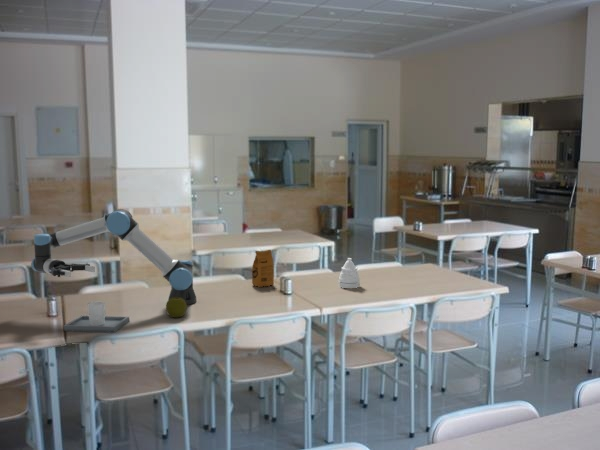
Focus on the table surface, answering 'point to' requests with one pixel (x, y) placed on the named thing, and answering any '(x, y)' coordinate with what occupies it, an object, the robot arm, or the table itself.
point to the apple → (176, 307)
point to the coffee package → (263, 269)
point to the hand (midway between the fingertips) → (82, 271)
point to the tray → (84, 326)
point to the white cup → (96, 313)
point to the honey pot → (349, 275)
